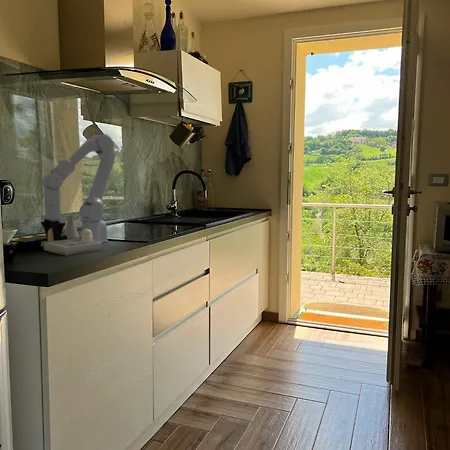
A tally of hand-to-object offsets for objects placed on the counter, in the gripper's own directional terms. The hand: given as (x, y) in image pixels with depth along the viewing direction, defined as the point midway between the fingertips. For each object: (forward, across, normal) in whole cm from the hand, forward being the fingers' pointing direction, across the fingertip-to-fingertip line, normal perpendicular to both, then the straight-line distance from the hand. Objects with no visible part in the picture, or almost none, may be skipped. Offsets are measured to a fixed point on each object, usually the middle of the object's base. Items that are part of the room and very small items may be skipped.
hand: (53, 239), depth 176 cm
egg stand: (+2, 0, 0) cm, 2 cm away
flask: (+3, -12, +15) cm, 19 cm away
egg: (+2, 0, 0) cm, 2 cm away
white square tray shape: (+2, +13, 0) cm, 13 cm away
